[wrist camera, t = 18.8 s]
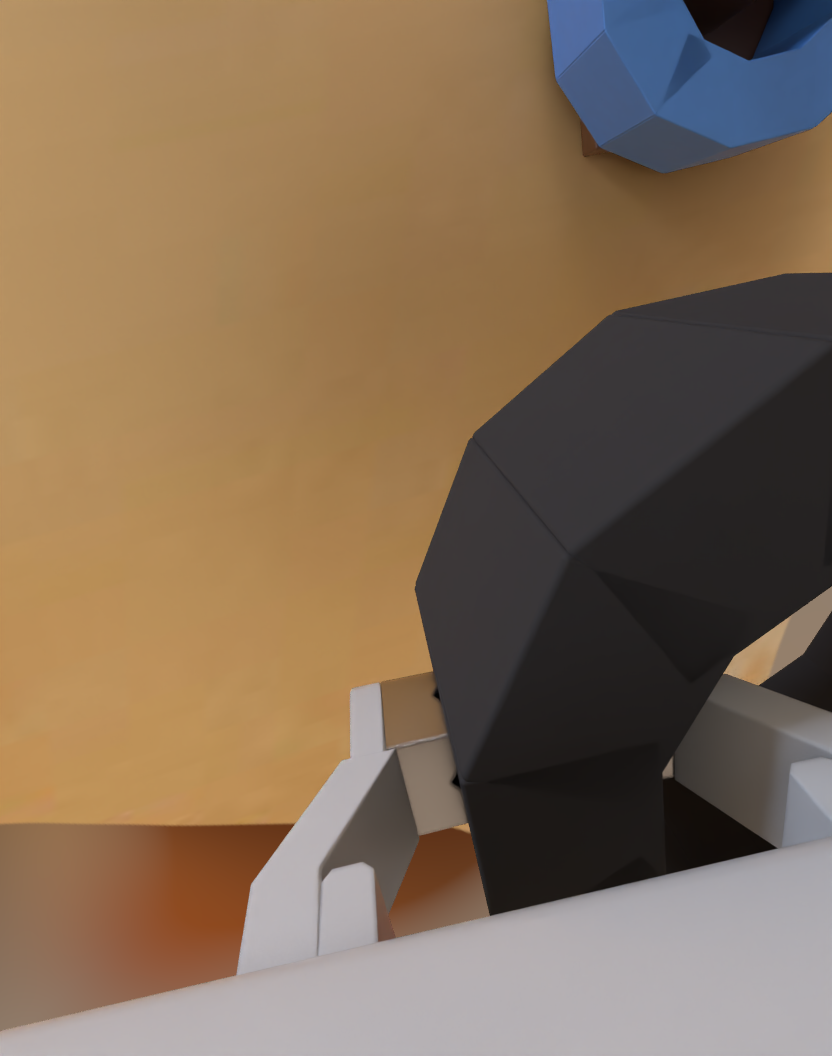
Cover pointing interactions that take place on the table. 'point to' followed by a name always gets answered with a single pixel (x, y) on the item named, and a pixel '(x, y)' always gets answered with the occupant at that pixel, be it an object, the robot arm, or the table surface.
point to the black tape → (630, 580)
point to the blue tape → (689, 79)
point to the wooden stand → (716, 35)
